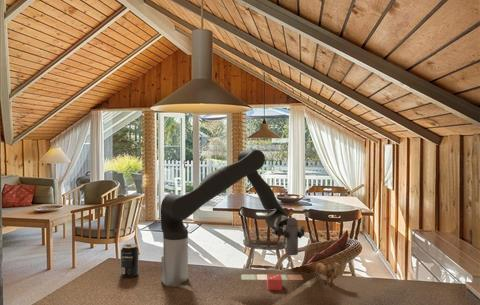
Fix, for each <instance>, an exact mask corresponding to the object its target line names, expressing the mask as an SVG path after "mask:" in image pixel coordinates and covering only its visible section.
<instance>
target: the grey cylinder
mask: <svg viewBox="0 0 480 305" xmlns="http://www.w3.org/2000/svg"><path fill="white" fill-rule="evenodd" d="M288 218H289V219H288V221H287V232H288V233H289V238H286V246H285V247H286V255H289V256H297V255H299V237H298V228H299V225H298V220H297V218H295V217H288Z"/></svg>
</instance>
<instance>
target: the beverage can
mask: <svg viewBox="0 0 480 305" xmlns="http://www.w3.org/2000/svg"><path fill="white" fill-rule="evenodd" d="M138 274H139V248H138V245H137V244H136V243H126V244H123V245H122V248H120V276H121V277H123V278H134V277H135V276H137V275H138Z"/></svg>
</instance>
